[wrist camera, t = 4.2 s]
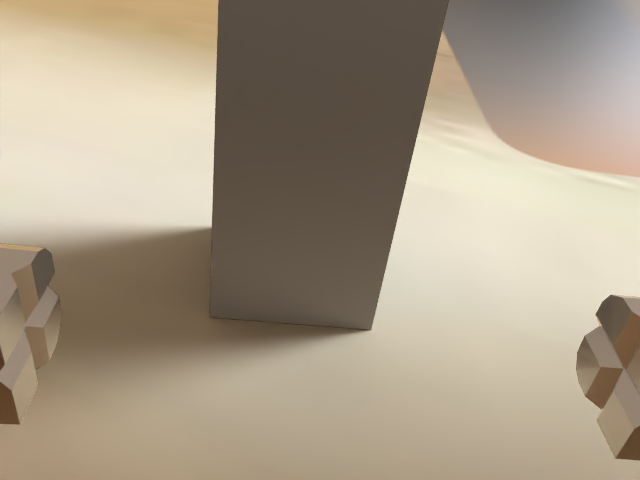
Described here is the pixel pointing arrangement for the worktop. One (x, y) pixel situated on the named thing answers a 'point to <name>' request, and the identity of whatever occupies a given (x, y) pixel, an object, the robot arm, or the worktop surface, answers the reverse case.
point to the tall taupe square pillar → (314, 152)
